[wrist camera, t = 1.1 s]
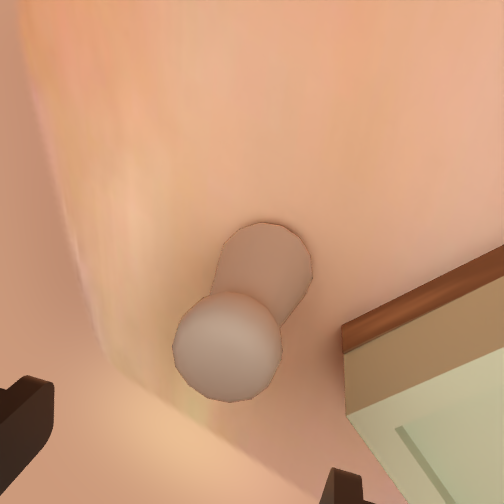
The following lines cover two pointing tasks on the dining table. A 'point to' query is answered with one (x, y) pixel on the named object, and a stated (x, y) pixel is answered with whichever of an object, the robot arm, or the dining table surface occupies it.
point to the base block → (423, 300)
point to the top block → (436, 401)
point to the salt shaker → (243, 314)
